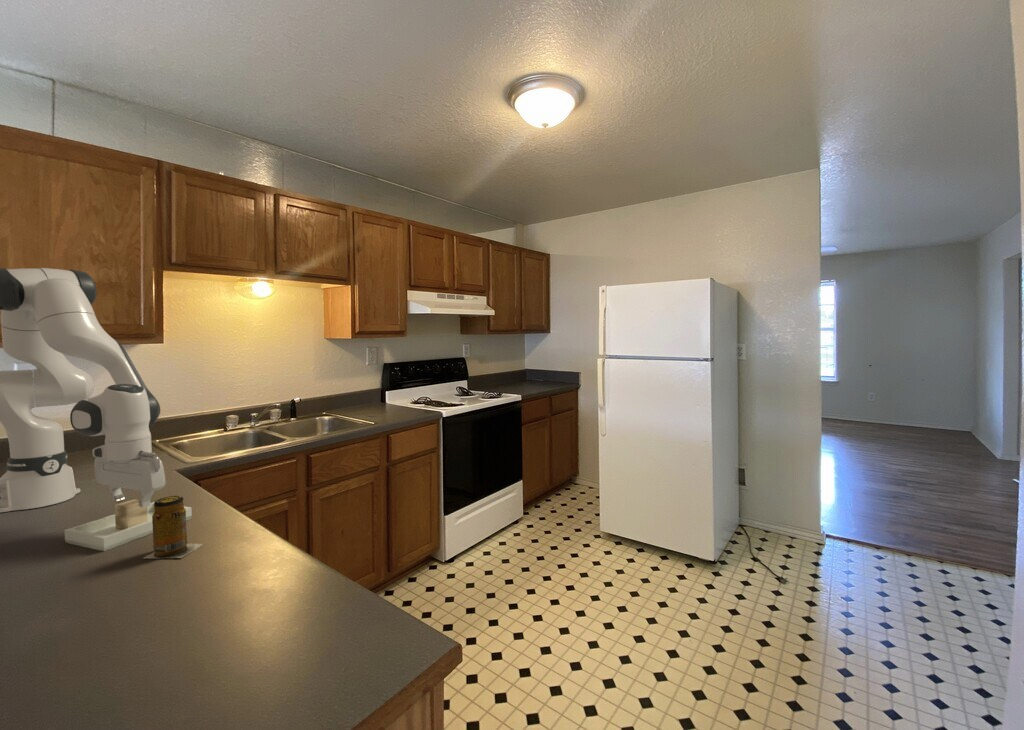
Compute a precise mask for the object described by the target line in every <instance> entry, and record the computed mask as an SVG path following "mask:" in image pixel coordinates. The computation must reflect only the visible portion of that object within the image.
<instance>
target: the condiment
mask: <svg viewBox="0 0 1024 730" xmlns="http://www.w3.org/2000/svg"><path fill="white" fill-rule="evenodd" d="M153 502H154V511H155V512H154V513H153V515H152V524H153V533H152V542H153V552H152V553H150V554H148V555H145V556H144V557H143V559H153V560H154V559H155V560H156V559H157V560H158V559H159V560H160V559H182V558H184V557H186V556H187V555H189V554H191V553H192V552H194V551H196V550H197V549H199V548H200V547H201V546H203V545H204V543H188V536H187V533H188V531H187V521H186V509H185V508H184V506H185V505H184V504H185V503H184V497H183V496H181V495H169V496H164V497H160V498H158V499H155V501H153Z"/></svg>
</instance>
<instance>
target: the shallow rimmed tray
mask: <svg viewBox="0 0 1024 730" xmlns="http://www.w3.org/2000/svg"><path fill="white" fill-rule="evenodd" d="M154 502H155V501H152V502H150V506H148V507H147V516H148V521H147V522H144V523H141V524H139V525H136V526H133V527H130V528H127V529H124V530H118V529H116V523H115V513H114V514H111V515H108V516H104V517H102V518H98V519H95V520H92V521H88V522H85V523H83V524H80V525H77V526H73V527H69V528H67V529H64V542H65V544H70V545H75V546H79V547H83V548H89V549H92V550H95V551H96V550H97V551H101V552H107V551H109V550H111V549H115V548H117V547H119V546H122V545H125V544H128V543H130V542H132V541H135V540H138V539H141V538H143V537H146V536H149V535H153V524H152V515H153V513H154V512H155V511H154ZM184 508H185V509H186V522H187V521H189V520H191V519H193V515H192V514H193V512H192V510H193V509H192V507H191V506H185V505H184Z"/></svg>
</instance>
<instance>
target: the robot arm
mask: <svg viewBox="0 0 1024 730" xmlns="http://www.w3.org/2000/svg"><path fill="white" fill-rule="evenodd" d="M97 291H98V290H97V286H96V284H95V281H94V279H93V278H92V277H91V275H89V274H88V273H87V272H85V271H81V270H77V269H68V270H67V269H59V268H52V267H51V268H50V267H38V268H34V267H33V268H29V267H28V268H7V269H6V268H2V267H1V268H0V328H1V329H0V330H1V338H2V339H1V341H2V348H3V351H4V352H5V354H7V355H8V356H9V357H11V358H13V359H15V360H18V361H21V362H24V363H28V364H30V365H32V366H34V367H35V369H19V370H13V369H12V370H0V423H1V425H2V426H3V428H4V430H5V432H6V436H7V440H8V444H9V445H8V447H9V458H7V462H6V472H5V473H4V474H3V475H1V477H0V513H6V512H12V511H21V510H29V509H36V508H42V507H47V506H51V505H56V504H60V503H63V502H66V501H68V500H71V499H72V498H74V497H75V496H76V495H77V494H79V493H81V488H79V487H76V483H75V476H74V471H73V467H71V466H70V465H68V464H67V463H68V454H67V450H65V438H64V437H65V436H64V428H63V426H62V425H61V423H59V422H57V421H55V420H52V419H48V418H45V417H40V416H37V415H35V414H34V413H33V412H32V409H35V408H42V407H58V406H68V405H72V404H74V406H73V407H72V409H71V411H70V415H69V416H70V418H69V419H70V425H71V427H72V428H73V430H74V431H76V433H79V434H80V435H81V436H84V437H98V436H105V437H104V438H105V439H104V444H103V445H99V446H97V447H94V448H93V449H92V456H93V457H94V458H95V459H94V463H93V464H94V475H95V479H96V481H97V484H99V485H106V486H108V491H109V492H110V494H111V496H112V503H115V504H120V503H124V502H125V500H126V499H125V494H123V491H122V488H123V489H129V490H136V491H139V492H140V495H141V498H140V499H138V500H139V507H143V508H145V507H148V506H150V503H151V499H152V497H153V495H154V492H157V491H159V490H162V489H164V487H165V485H166V473H165V469H164V464H163V461H162V460H161V459H160V457H158V456H157V453H155V452H153V449H152V433H151V431H150V428H151V427H152V426H153V425H155V423H156V422H157V420H158V419H159V417H160V414H161V406H160V403H159V401H158V399H157V398H156V397H155V396H154V395H153V393H152V392H151V391H150V390H149V388H148V387H147V385H146V384H145V382H144V380H143V379H142V377H141V375H140V373H139V372H138V370H137V368H136V366H135V365H134V363H133V361H132V360H131V357H130V356H129V354H128V352H127V350H125V349H126V348H125V347H124V346H123V345H122V343H121V342H119V340H117V339H115V338H113V337H111V335H110V334H108V332H106V330H104V328H103V327H102V325H101V324H100V323H99V321H98V318H97V317H96V314H95V311H94V309H93V308H94V307H93V306H92V304H93V303H95V301H96V299H97V294H98V293H97ZM65 355H66V356H69V357H73V358H78V359H82V360H86V361H89V362H92V363H95V364H98V365H100V366H102V367H103V368H104V369H105V370H107V373H108V374H109V375H110V377H111V378H112V380H113V382H114V383H115V384H112V385H108V386H107V387H105V389H104V390H103V392H100V393H99V394H97V395H94V396H92V394H93V393H94V389H95V382H94V379H93V378H92V375H90V374H89V373H88V372H87V371H85V370H83V369H81V368H79V367H77V366H75V365H74V364H72V362H70V361H69V360H68V359H67V357H66V356H65ZM91 396H92V397H91Z"/></svg>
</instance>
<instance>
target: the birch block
mask: <svg viewBox="0 0 1024 730" xmlns="http://www.w3.org/2000/svg"><path fill="white" fill-rule="evenodd" d="M139 500H140V499H137V498H134V499H130V500H128V501H127V500H126V501H123V502H120V503H116V504H115V505H114V514H115V523H116V529H118V530H124V529H127V528H130V527H133V526H136V525H139V524H141V523H144V522H147V521H148V516H147V507H145V508H143V507H139Z"/></svg>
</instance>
